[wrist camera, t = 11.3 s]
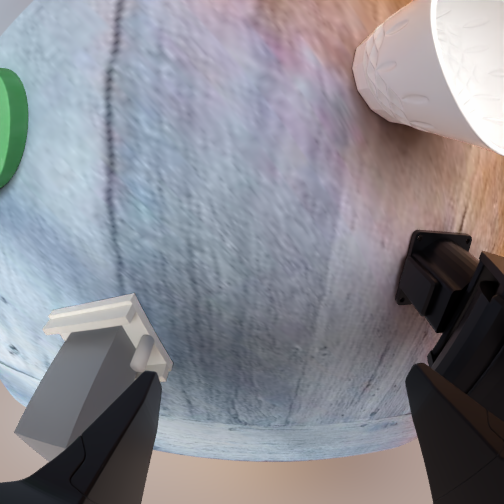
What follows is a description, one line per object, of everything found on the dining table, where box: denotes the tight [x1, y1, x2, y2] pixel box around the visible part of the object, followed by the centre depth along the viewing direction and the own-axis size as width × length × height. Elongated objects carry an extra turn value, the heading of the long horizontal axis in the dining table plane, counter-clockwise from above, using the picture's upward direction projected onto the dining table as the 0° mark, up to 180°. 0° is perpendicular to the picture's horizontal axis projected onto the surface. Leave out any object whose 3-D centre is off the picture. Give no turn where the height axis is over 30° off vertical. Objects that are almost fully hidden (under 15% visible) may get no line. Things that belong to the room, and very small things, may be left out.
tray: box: [42, 293, 173, 382], centre depth 22 cm, size 10×8×4 cm
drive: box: [14, 325, 137, 462], centre depth 17 cm, size 6×4×12 cm, turn 104°
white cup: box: [352, 0, 504, 156], centre depth 10 cm, size 8×8×10 cm
